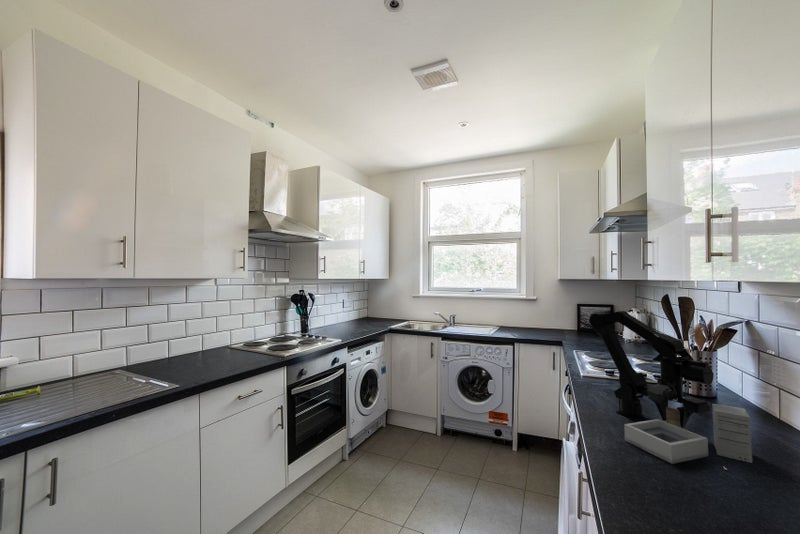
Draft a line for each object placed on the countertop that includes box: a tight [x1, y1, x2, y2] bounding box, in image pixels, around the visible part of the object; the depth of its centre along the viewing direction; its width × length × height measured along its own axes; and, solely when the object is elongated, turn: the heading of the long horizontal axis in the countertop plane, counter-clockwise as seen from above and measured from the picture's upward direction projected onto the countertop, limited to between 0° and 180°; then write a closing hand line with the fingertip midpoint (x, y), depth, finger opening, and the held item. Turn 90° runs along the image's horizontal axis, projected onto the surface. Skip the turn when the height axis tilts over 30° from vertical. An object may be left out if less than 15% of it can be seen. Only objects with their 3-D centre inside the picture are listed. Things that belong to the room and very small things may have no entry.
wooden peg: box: [666, 406, 681, 428], centre depth 112 cm, size 4×4×7 cm
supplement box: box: [711, 403, 753, 464], centre depth 97 cm, size 7×7×13 cm
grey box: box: [624, 418, 709, 465], centre depth 100 cm, size 14×14×5 cm
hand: (673, 423), depth 112 cm, fingers open, 5 cm apart
